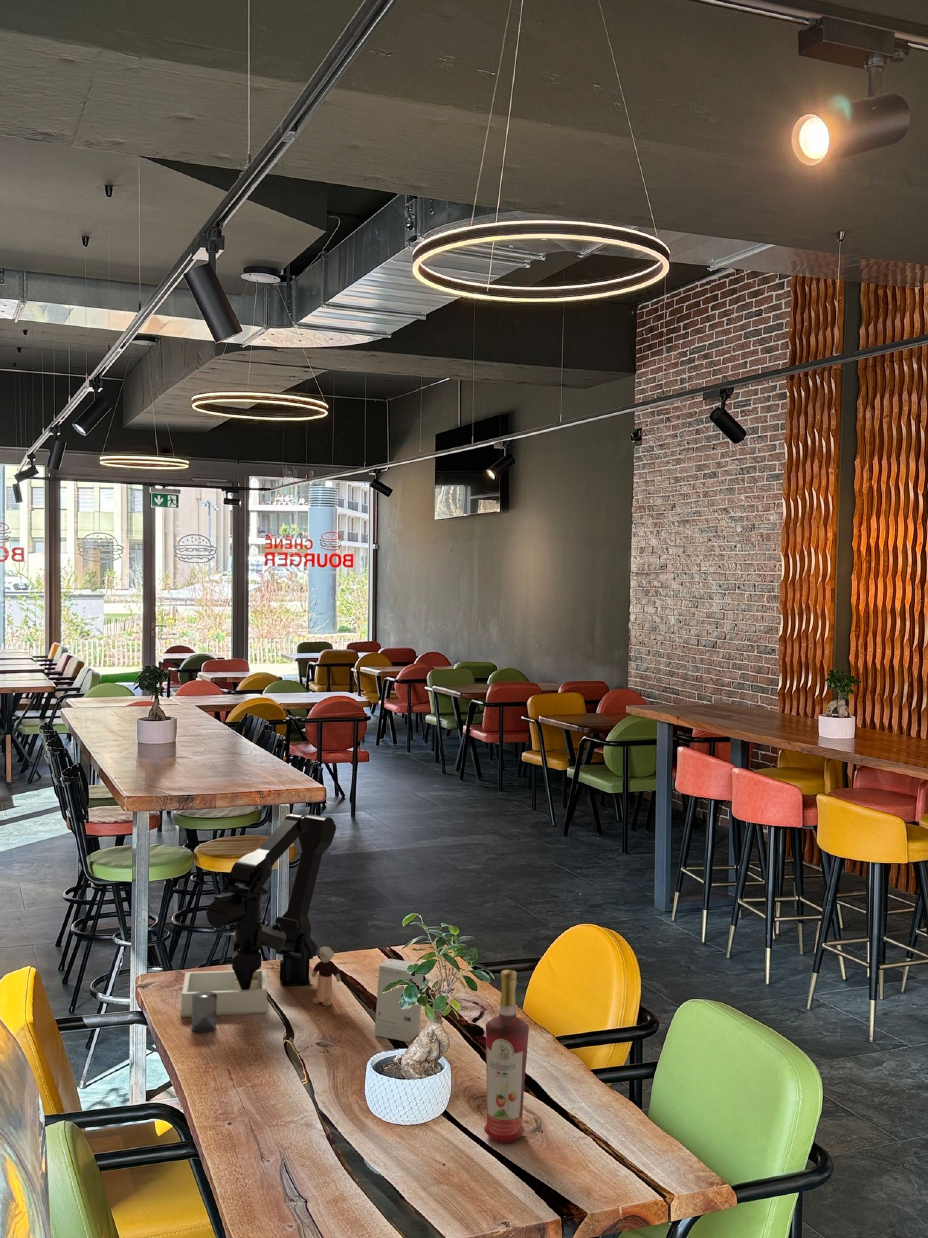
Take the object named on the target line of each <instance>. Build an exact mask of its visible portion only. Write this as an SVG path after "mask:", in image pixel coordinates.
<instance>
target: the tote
mask: <svg viewBox="0 0 928 1238" xmlns="http://www.w3.org/2000/svg"><path fill="white" fill-rule="evenodd" d="M253 974H258V987H257V989H256V990H234V985H235V973H234V970H215V971H214V970H211V971H185V974H184V979H183V984H182V985H183V986H182V990H181V1009H180V1010H181V1011H180V1014H181V1015H180V1017H181V1018H190V1017H191V1018H192V995H193V994H195V993H197V992H202V991H211V992H215V993H216V994H217V1005H216V1017H217V1016H237V1015H238V1016H239V1015H243V1016H244V1015H262V1014H263V1015H265V1014H267V1003H268V1001H267V999H268V984H267V983H268V980H267V977H268V976H267V969H258V970H257V971H255V972H254V973H253Z"/></svg>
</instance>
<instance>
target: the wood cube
mask: <svg viewBox="0 0 928 1238" xmlns="http://www.w3.org/2000/svg"><path fill="white" fill-rule="evenodd" d="M257 987H258V974H253V977H252V981H251V986H250V990H256V989H257ZM234 990H241V987H240V985H239V982H238V980H237V977H236V975H235V985H234Z"/></svg>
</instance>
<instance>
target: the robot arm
mask: <svg viewBox="0 0 928 1238" xmlns="http://www.w3.org/2000/svg"><path fill="white" fill-rule="evenodd" d="M336 831H337V825H336V824H335V820H333V818H332V817H329V816H325V815H324V816H323V815H317V814H307V815H304V814H303V815H301V814H297V813H290V814H287V815H286V816H285V818H284V820H283V822H282V823H281V824H280V825H279V826H278V827H277V828H276V829H275V831H273V832H272V833H271V835H270V836H268V838H266V840H265V841H264V842H263V843H261V845H260V846H259V847H258V848H257V849H256V850H255V851H252V852H250V853H247V854H245V855H244V856H242V857H241V858H239V859H238V860H237V861H235V863H234V864H233V865H232V867H231V870H230V872H229V874H228V876H227V878H226V881H225V882H224V885H223V887H222V889H221V893H222V894H216V895H214V897H213V899H214V900H213V901H212V902H211V903H209V905H208V907H207V909H206V911H205V912H206V919H207V921H208V924H209V925H210V926H211V927H213V928H215V929H222V928H224V927H227V926H230V925H234V928H233V929H234V934H233V943H232V944H233V954H232V958H231V969H232V971H234V973H235V975H236V977H237V980H238V982H239V985H240V987H241V990H250V986H251V981H252V977H253V973H254V972H255V971H257V970H261V967H262V953H261V952H260V950H261V949H262V948H263V947H265V948H269V949H272V950H274V951H275V954H276V955H281V956H282V958H281V959H280V960H279V974H278V975H279V978H278V979H279V981H281V986H304V985H306V986H308V985H311V983H310V982H311V981H310V964H311V963H310V960H313V959H314V957H317V952H318V949H319V947H318V945H317V944H316V943H315V942H314V941H313V939H312V938H311V932H312V926H311V922H310V919H309V918H310V917H309V912H310V911H309V910H310V907H311V904H312V903H311V902H312V898H313V895H314V891H315V886H316V883H317V881H316V880H317V877H318V875H319V873H318V872H319V869H320V865H321V860H322V856H323V854H324V853H325V852H326V851H327V850H328V849H329V848H330V847H331V846H332V842H333V839H334V838H335V837H334V836H335V834H336ZM297 839H298V841H299V846H300V848H301V852H300V857H299V861H298V865H297V867H296V868H297V869H296V874H295V877H294V881H293V885H292V890H291V895H290V898H289V902H288V906H287V910H286V911H285V912H284V914H282V916H277V917H276V918H275V921H274V922H273V923H272V924H271V925H270V926H269V925H267V926H264V925H263V920H262V896H266V895H268V893H269V890H267V889H266V888H265V887H264V886H265V884H266V883H267V882H268V879H269V878H270V877H271V875H272V871H273V866H274V865H275V863H276V862H277V861H278V860H279V859H280V858H281V856H282V855H283V854H284V853H285V852H286V851H287V850H288V849H289V848H290V846H292V844H294V842H295V841H296V840H297ZM238 886H239V887H238Z"/></svg>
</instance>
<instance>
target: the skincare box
mask: <svg viewBox="0 0 928 1238" xmlns="http://www.w3.org/2000/svg"><path fill="white" fill-rule="evenodd" d="M414 964H417V963H416V962H411V961H407V960H400V959H394V958H389V959H387V960H385V961H384V962H383V963H381V964H379V968H378V981H377V992H376V993H377V995H376V997H377V998H376V1006H375V1007H376V1009H375V1020H374V1036H375V1037H377V1038H378V1037H379V1038H380V1037H381V1038H386V1039H389V1040H390V1039H391V1040H396V1041H397V1040H398V1041H401V1042H405V1043H410V1042H411V1041H412V1040H413V1039H414V1038H416V1037H417V1036H418V1035H419V1034H420V1028H421V1027H420V1026H421V1011H422V1005H421V1006H420V1005H418V1004H417V1005H415V1006H412V1007H411V1008H409V1009H404V1010H402V1009H401V1007H400V1003H399V1001H400V998H401V995H402V993H403V991H404V986H401V987H399V988H395V989H392V991H389V992H386V993H384V994H383V993H382V991H383V989H384V988H385V987H386V986H387V985H389V984H390V983H393V982H397V981H399V980H404V979H412V981H413V982H414V983H416V985H418V986H419V988H421V989H422V990H423V985H424V974H423V975H422V974H416V975H415V976H412V975H411V974H409V973H407V968H408V966H409V965H414Z"/></svg>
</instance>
